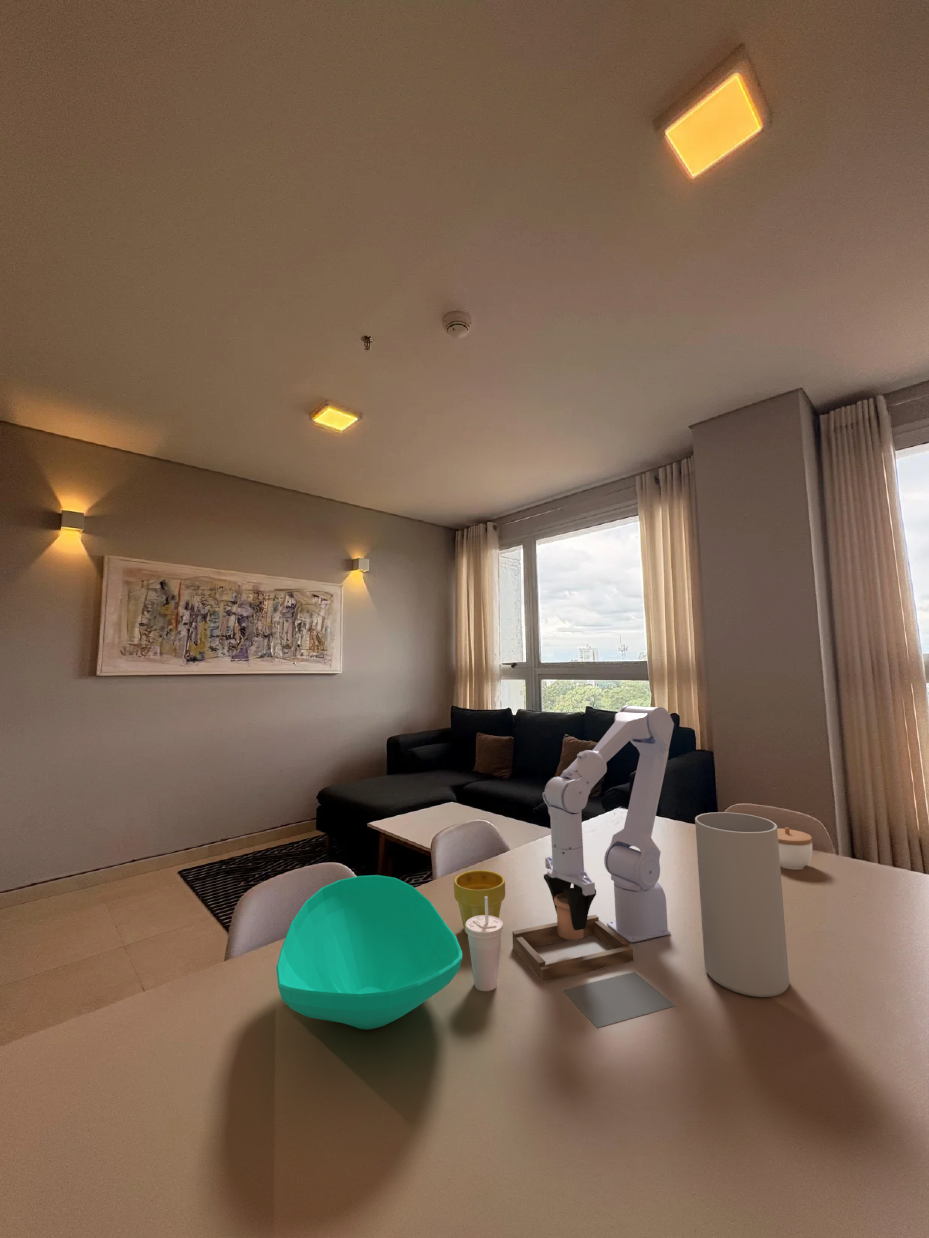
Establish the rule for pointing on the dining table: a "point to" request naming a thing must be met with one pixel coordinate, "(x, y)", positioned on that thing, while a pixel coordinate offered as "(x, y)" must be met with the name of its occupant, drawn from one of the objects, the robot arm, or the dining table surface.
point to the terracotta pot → (565, 919)
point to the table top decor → (365, 953)
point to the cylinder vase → (742, 903)
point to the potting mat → (617, 999)
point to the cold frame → (557, 970)
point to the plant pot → (479, 893)
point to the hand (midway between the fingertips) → (570, 921)
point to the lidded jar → (794, 848)
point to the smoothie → (484, 948)
